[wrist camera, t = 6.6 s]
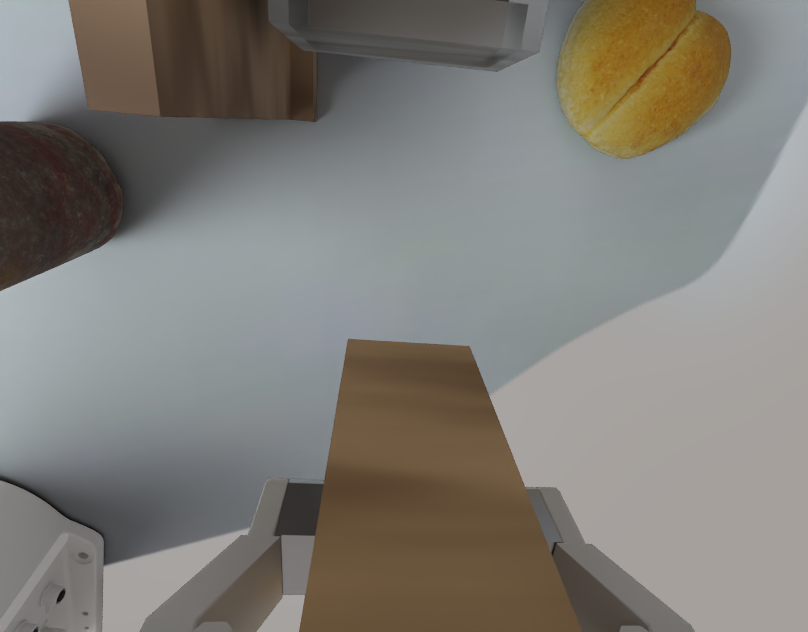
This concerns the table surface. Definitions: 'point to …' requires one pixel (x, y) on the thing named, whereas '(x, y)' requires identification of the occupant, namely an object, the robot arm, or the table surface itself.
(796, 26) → the table surface
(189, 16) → the bracket
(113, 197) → the brown rough cylinder
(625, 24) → the bread roll
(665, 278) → the table surface
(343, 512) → the wooden block
